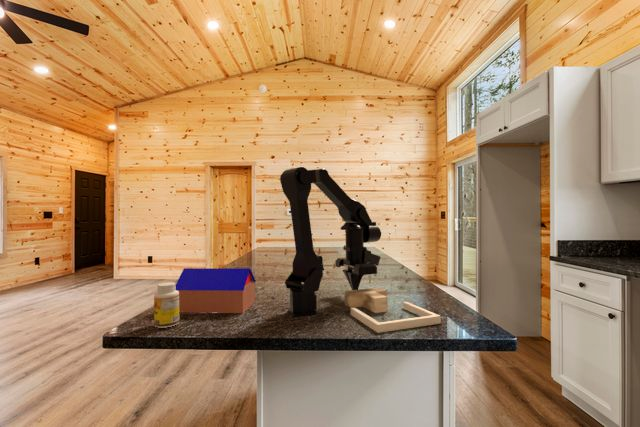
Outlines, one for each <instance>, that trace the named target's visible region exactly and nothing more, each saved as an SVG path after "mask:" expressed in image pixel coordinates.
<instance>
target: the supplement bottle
mask: <svg viewBox="0 0 640 427" xmlns="http://www.w3.org/2000/svg"><path fill="white" fill-rule="evenodd" d="M175 289H176V283H175V282H170V281H169V282H168V281H167V282H161V283H159V284H157V291H156V292H155V293H154V294H153V305H154V306H153V308H154V310H153V313H154V314H153V315H154V317H153V318H154V322H153V324H154V327H155V328H156V327H158V328H157V329H159V328H166V329H168V328H167V327H171V328H173V327H172V326H174V327H176V326H178V325H179V323H180V313H179V291H177V290H175ZM177 324H178V325H177ZM175 325H176V326H175Z"/></svg>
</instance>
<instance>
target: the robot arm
mask: <svg viewBox="0 0 640 427" xmlns="http://www.w3.org/2000/svg"><path fill="white" fill-rule="evenodd" d="M279 178H280V179H279V181H280V185H281V189H282V192H283V194H284V196H285V197H286V199H287V200H288V203H289V207H290V215H291V222H292V229H293V230H292V231H293V238H294V246H295V255H294V258H293V261H292V271H291V273H290V274H289V275H288V277H287V278H286V279H285V280H284V284H285V286H286V287H285V288H286V289H289V308H288V311H289V313H290V314H291V315H292V316H294V317H300V316H307V315H315V314H318V310H317V304H318V303H317V294H316V293H315V292H318V291H319V289H320V285H321V283H322V282H321V280H322V278H323V277H324V276H323V275H324V271H325V267H324V262H323V261H324V260H323V256H322V255H319V254H317V253H316V252H315V249H314V242H313V235H312V226H311V218H310V210H309V202H308V201H309V200H308V198H309V197H310V193H311V190H312V184H314V185H315V186H316V187H317V188H318V189H319V190H320V191H321V192H322V193H323V194H324V196H326V197H327V198H328V199H329V200H330V202H332V204H334V206H335V207H337V210H338V212H337V213H338V214H339V216H340V217H341V219H342V220H343V222H344V224H343V225H342V226H340V230H342V231H345V246H343V247H342V248H343V249H342V250H343V251H345V257H339V258H338V257H337V258H336V260H335V262H334V264H335V265H334V266H335V267H337V268H341V267H344V269H342V272H343V273H344V276H345V278H346V280H347V282H348V284H349V286H350V288H351V290H359V289H360V288H359V287H360V284H361V281H362V279H363V277H364V276H367V275H378V267H379V264H380V261H381V256H380V255H377V254H374V253H372V251H371V250H368V248H367V246H364V245H365V243H376V242H378V241H379V240H381V237H382V231H381V229H380V228H379V226H377V221H372V219H371V217H370V216H369V213H368V211H367V208H366V206H365V205H363V204H362V203H361V202H360V201H358V200H356V199H354V198H352V197H350V196H349V195H348V194H347V193H346V192H345V191H344V189H342V188H341V187H340V185H339V184H338V183H337V182H336V180H334V179H333V178H332V177H331V175H330V174H329V171H328V170H327V169H325V168H317V169H307V168H306V167H303V166H300V167H294V168H289V169H288V168H287V169H285V170H284V171H282V173H281V175H280V177H279Z"/></svg>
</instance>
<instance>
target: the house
mask: <svg viewBox="0 0 640 427" xmlns="http://www.w3.org/2000/svg"><path fill="white" fill-rule="evenodd" d="M256 282H257V281H256V279H255V276H254V274H253V272H252V270H251V268H233V267H232V268H231V267H230V268H224V267H223V268H221V267H220V268H218V267H217V268H215V267H213V268H212V267H211V268H207V267H206V268H193V267H191V268H189V267H188V268H183V269H182V271H181V273H180V276H179V277H178V279H177V282H176V283H175V284H176V289H175V290H177V291H179V312H182V311H183V312H222V313H244V312H245V311H246V310H247V309H248V308H249V307H250V306H251V305H252V304H253V303H254V302H255V303H256V292H255V291H256V289H255V286H256V285H255V284H256ZM255 303H254V304H255ZM254 304H253V305H254ZM253 305H252V306H253ZM252 306H251V307H252ZM251 307H250V308H251ZM250 308H249V309H250ZM249 309H248V310H249ZM248 310H247V311H248ZM245 313H246V312H245ZM245 313H244V314H245Z"/></svg>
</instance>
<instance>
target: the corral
mask: <svg viewBox="0 0 640 427" xmlns="http://www.w3.org/2000/svg"><path fill="white" fill-rule="evenodd" d="M402 309H403V310H406V311H407V312H410V313H412V314H415V315H416V316H417V317H416V316H415V317H411V318H402V319H395V320H389V321H382V322H380V321H378V320H377V319H374V318H373V317H371V316H369V315H368V314H366V313H365V312H364V311H361V310H360V309H358V308H357V307H354V308H350V316H352V317H353V318H355V319H356V320H358V321H359V322H361V323H363V325H365V326H367V327H368V328H370V329H371V330H372V331H374V332H376V333H378V334H379V333H386V332H392V331H393V332H394V331H398V330H405V329H412V328H417V327H419V328H420V327H425V326H432V325H438V324H439V325H440V324H441V323H442V322H441V321H442V319H441V318H442V317H441V315H439V314H437V313H435V312H432V311H429V310H427V309H425V308H423V307H420V306H418V305H415V304H413V303H410V302H408V301H402Z"/></svg>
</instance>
